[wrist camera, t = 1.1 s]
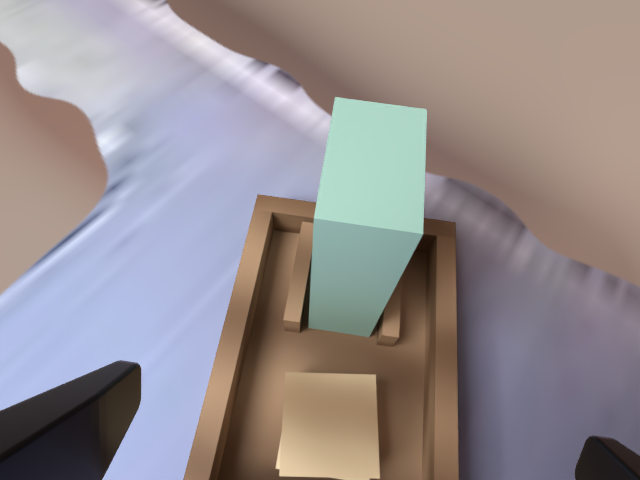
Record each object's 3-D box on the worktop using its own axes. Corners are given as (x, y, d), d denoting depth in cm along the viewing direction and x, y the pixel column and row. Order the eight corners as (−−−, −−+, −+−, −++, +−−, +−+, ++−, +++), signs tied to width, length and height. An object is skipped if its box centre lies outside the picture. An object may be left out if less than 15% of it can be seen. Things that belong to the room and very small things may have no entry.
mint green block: (369, 337, 22) (423, 233, 12) (308, 327, 22) (313, 218, 12) (376, 252, 24) (426, 109, 15) (321, 244, 24) (335, 97, 15)
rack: (437, 546, 19) (459, 559, 16) (192, 504, 19) (175, 511, 16) (439, 247, 26) (455, 222, 23) (262, 222, 26) (257, 194, 23)
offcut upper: (375, 477, 18) (380, 478, 17) (280, 475, 18) (279, 476, 17) (371, 379, 20) (375, 374, 19) (286, 377, 20) (285, 372, 18)
